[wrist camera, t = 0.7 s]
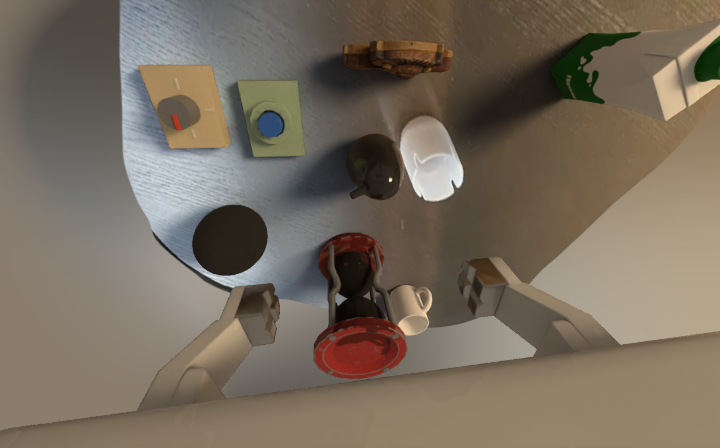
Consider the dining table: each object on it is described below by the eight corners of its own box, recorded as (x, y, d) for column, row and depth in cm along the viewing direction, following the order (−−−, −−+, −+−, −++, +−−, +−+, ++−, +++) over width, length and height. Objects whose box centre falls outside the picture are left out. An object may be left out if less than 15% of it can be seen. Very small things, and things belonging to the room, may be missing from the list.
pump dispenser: (336, 139, 48) (339, 169, 36) (390, 121, 48) (412, 145, 35) (353, 186, 54) (360, 227, 41) (401, 171, 53) (423, 207, 41)
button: (258, 111, 41) (255, 113, 40) (281, 111, 42) (279, 113, 40) (262, 134, 43) (260, 137, 42) (284, 134, 44) (283, 137, 42)
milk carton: (608, 66, 46) (766, 73, 29) (560, 106, 49) (678, 133, 33) (592, 23, 42) (763, 2, 26) (541, 69, 45) (664, 78, 29)
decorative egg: (268, 246, 60) (253, 296, 48) (210, 234, 57) (177, 285, 45) (277, 200, 54) (262, 244, 42) (213, 185, 51) (175, 227, 38)
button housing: (240, 79, 42) (233, 82, 38) (297, 80, 43) (294, 82, 39) (256, 153, 48) (250, 160, 45) (305, 152, 49) (303, 159, 46)
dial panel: (149, 64, 40) (136, 65, 37) (211, 65, 40) (202, 65, 38) (178, 143, 46) (169, 149, 44) (231, 142, 47) (225, 148, 44)
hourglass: (395, 258, 66) (425, 352, 45) (347, 290, 71) (355, 388, 50) (354, 219, 59) (368, 311, 38) (304, 258, 63) (292, 358, 42)
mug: (414, 271, 69) (427, 302, 61) (433, 284, 73) (447, 315, 64) (382, 296, 73) (389, 328, 65) (401, 307, 77) (411, 339, 68)
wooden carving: (342, 78, 43) (345, 83, 35) (340, 44, 41) (343, 42, 32) (439, 73, 44) (464, 77, 36) (442, 40, 42) (471, 36, 33)
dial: (164, 94, 39) (150, 98, 36) (195, 94, 40) (183, 98, 37) (175, 125, 42) (163, 130, 39) (204, 124, 42) (194, 130, 39)
